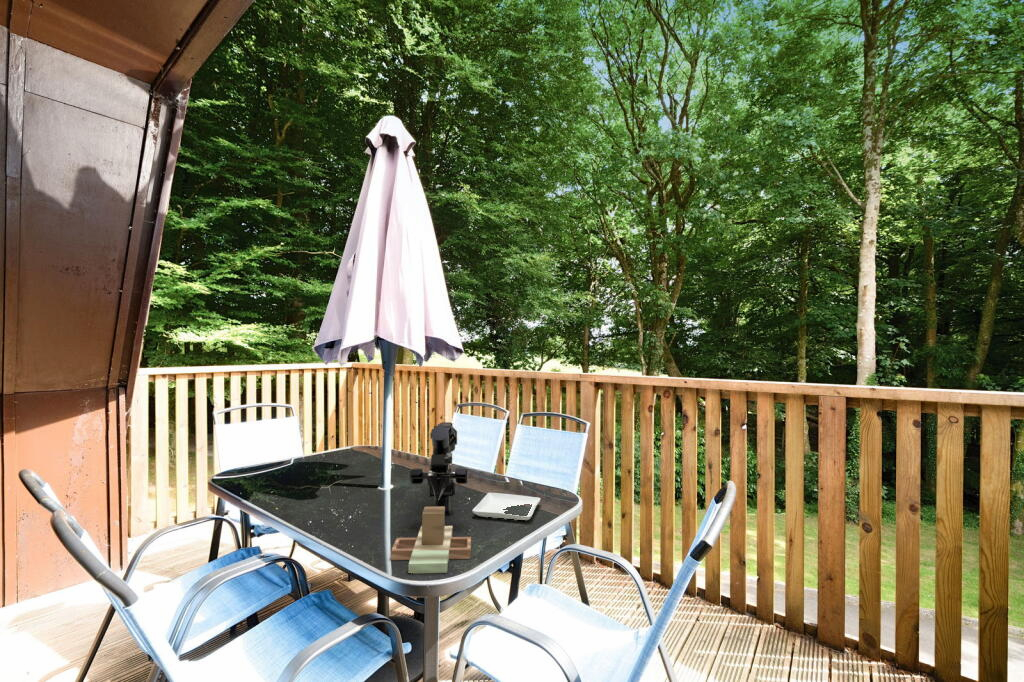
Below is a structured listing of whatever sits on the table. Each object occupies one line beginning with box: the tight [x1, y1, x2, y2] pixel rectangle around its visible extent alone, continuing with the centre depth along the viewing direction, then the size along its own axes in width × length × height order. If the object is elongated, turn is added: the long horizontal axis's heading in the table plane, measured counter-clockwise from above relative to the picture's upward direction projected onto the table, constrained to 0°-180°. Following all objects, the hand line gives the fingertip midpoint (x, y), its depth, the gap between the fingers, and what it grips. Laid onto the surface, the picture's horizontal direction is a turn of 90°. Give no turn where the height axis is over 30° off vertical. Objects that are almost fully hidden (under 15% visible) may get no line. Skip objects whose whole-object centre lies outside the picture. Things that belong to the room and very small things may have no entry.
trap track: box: [390, 525, 472, 574], centre depth 134 cm, size 26×22×2 cm
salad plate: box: [472, 492, 541, 521], centre depth 169 cm, size 21×21×3 cm
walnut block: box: [421, 506, 446, 545], centre depth 135 cm, size 6×6×9 cm
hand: (437, 500), depth 147 cm, fingers closed
